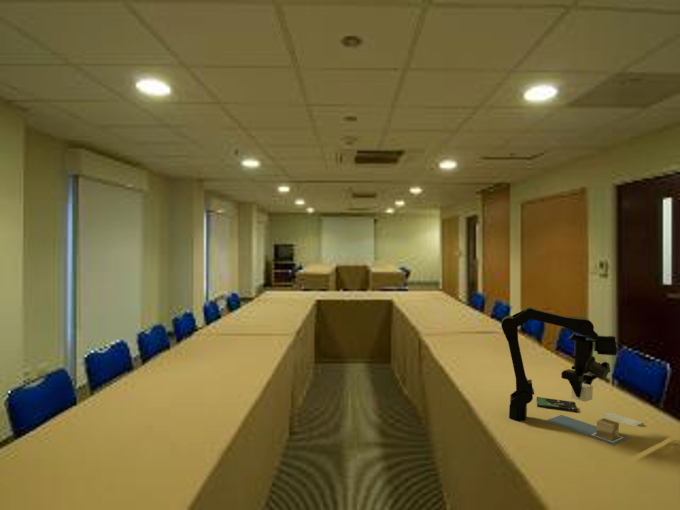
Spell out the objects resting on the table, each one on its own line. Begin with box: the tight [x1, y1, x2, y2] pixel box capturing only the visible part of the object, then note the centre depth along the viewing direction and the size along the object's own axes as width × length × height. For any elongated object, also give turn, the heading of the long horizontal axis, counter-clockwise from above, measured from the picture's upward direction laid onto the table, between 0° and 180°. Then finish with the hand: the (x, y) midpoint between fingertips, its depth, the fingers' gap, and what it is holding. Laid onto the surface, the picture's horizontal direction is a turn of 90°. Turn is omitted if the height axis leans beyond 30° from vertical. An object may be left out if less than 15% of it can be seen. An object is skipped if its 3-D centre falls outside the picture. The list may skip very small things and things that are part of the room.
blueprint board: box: [544, 414, 632, 447], centre depth 171 cm, size 12×25×1 cm, turn 35°
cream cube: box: [571, 383, 594, 403], centre depth 172 cm, size 5×5×5 cm
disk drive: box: [536, 396, 578, 413], centre depth 195 cm, size 10×3×15 cm
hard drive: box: [600, 412, 644, 427], centre depth 182 cm, size 2×8×12 cm
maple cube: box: [596, 417, 620, 440], centre depth 165 cm, size 5×5×5 cm
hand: (582, 395), depth 173 cm, fingers closed on cream cube, 5 cm apart
